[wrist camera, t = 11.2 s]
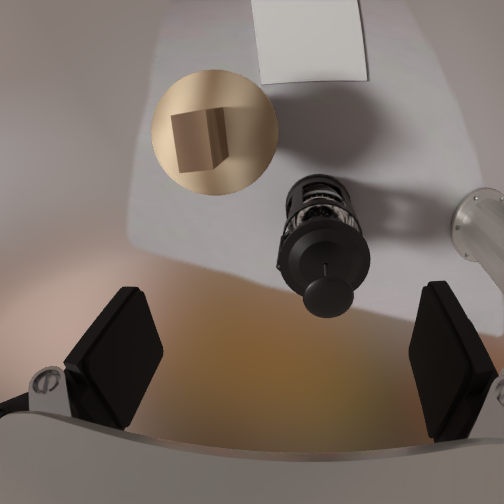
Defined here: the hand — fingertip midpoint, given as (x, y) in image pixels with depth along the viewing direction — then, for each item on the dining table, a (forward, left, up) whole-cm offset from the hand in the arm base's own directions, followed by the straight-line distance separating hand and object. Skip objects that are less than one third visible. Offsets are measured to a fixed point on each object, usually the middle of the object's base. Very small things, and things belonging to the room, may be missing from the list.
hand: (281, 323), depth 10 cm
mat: (-3, -16, -36) cm, 40 cm away
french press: (-2, +9, -36) cm, 38 cm away
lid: (+8, -4, -24) cm, 26 cm away
